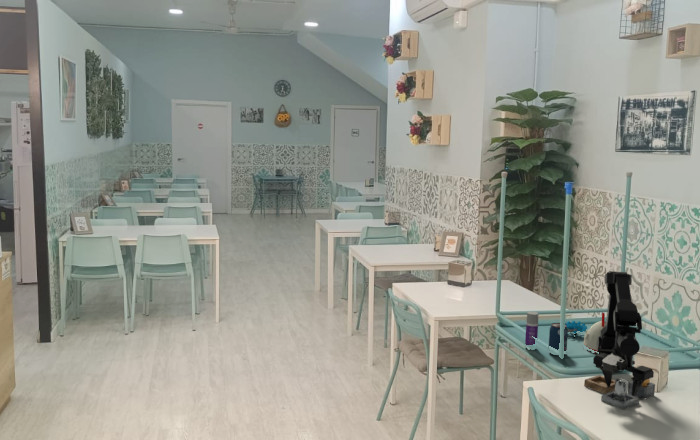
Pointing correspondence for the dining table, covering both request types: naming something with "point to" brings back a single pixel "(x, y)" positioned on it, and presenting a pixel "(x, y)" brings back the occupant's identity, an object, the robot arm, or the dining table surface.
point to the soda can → (557, 336)
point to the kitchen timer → (594, 334)
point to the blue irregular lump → (575, 327)
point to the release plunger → (645, 382)
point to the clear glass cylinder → (620, 389)
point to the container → (531, 328)
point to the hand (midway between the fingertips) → (620, 391)
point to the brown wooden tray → (599, 384)
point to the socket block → (630, 396)
